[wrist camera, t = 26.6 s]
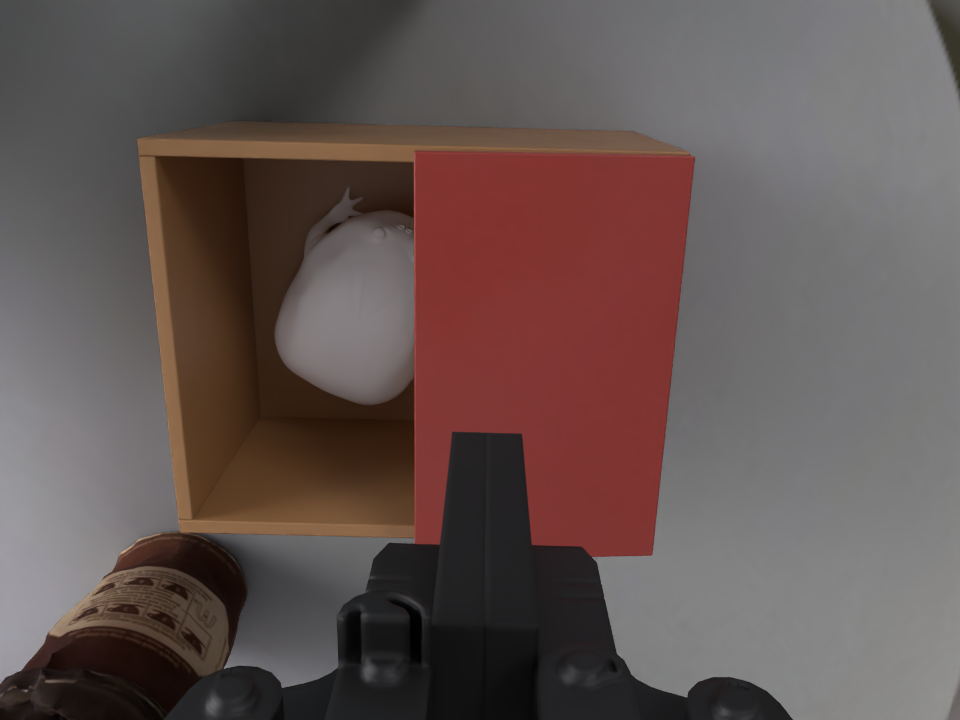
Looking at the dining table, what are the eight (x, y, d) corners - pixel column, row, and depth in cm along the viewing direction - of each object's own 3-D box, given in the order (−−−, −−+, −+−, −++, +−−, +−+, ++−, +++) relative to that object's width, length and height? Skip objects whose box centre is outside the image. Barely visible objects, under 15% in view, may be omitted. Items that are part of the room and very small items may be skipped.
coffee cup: (108, 482, 38) (-71, 677, 26) (285, 527, 39) (193, 738, 26) (84, 633, 41) (-89, 875, 28) (249, 672, 41) (151, 925, 29)
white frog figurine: (339, 169, 33) (321, 181, 29) (489, 248, 34) (489, 269, 30) (261, 338, 35) (235, 368, 31) (403, 407, 36) (394, 444, 32)
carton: (633, 131, 33) (690, 152, 24) (609, 430, 37) (649, 544, 28) (231, 120, 33) (136, 137, 24) (253, 421, 37) (179, 533, 28)
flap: (691, 154, 23) (695, 156, 23) (649, 549, 28) (652, 556, 27) (413, 150, 23) (413, 151, 22) (414, 555, 27) (414, 561, 26)
